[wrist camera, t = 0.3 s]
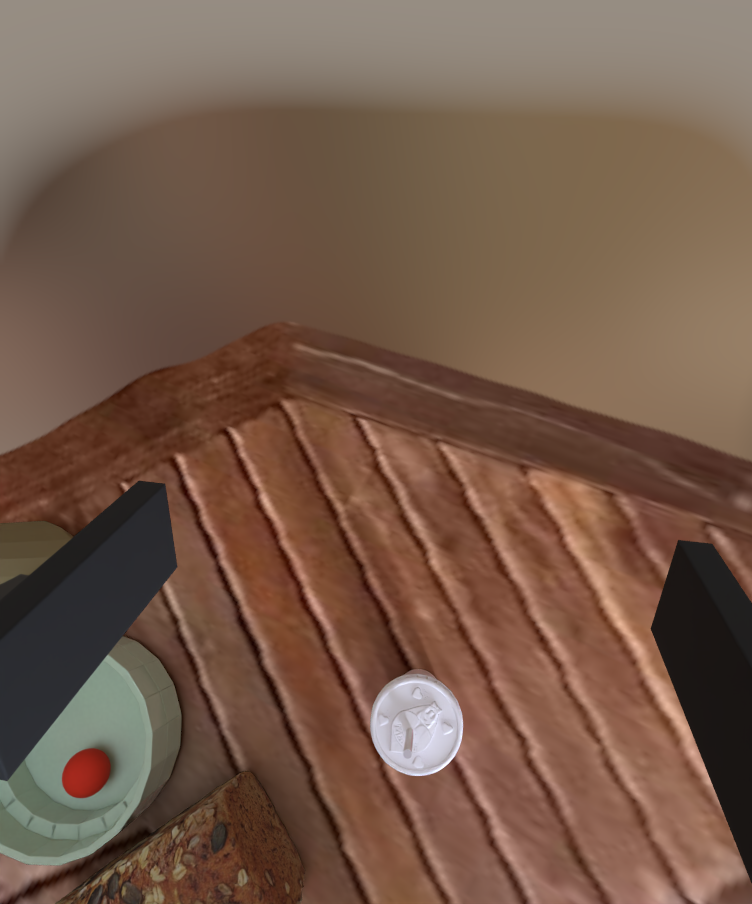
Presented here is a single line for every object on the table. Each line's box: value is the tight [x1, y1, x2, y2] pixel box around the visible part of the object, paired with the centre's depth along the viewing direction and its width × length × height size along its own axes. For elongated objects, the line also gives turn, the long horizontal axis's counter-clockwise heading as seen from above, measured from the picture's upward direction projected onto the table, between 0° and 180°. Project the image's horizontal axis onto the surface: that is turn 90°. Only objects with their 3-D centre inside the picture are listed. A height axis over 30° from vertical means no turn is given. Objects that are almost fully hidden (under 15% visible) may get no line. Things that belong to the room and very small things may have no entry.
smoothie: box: [370, 669, 463, 776], centre depth 41 cm, size 6×6×14 cm
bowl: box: [0, 636, 182, 865], centre depth 47 cm, size 16×16×6 cm
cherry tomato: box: [62, 748, 111, 798], centre depth 47 cm, size 4×4×4 cm
